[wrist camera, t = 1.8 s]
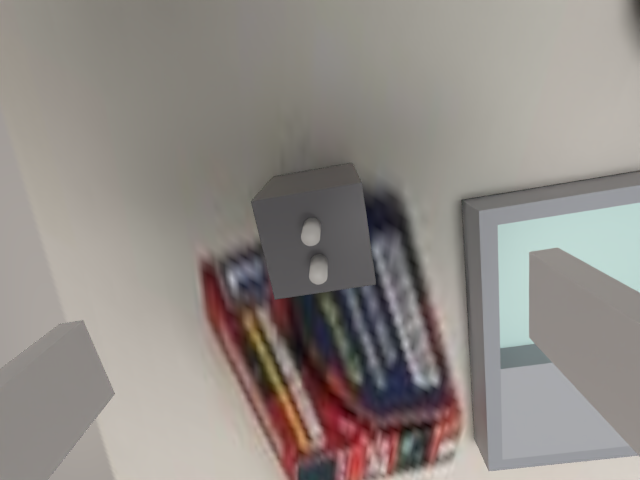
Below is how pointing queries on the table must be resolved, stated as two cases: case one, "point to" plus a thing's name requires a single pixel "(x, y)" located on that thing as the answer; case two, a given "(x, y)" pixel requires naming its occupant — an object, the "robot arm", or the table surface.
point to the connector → (315, 231)
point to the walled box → (513, 316)
